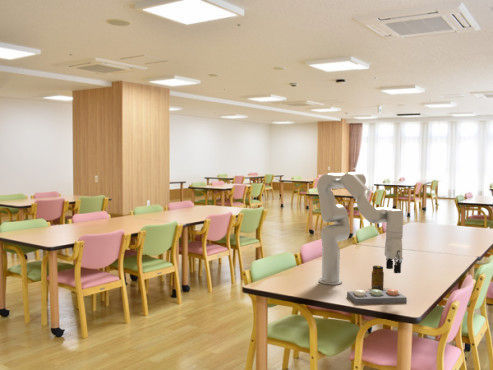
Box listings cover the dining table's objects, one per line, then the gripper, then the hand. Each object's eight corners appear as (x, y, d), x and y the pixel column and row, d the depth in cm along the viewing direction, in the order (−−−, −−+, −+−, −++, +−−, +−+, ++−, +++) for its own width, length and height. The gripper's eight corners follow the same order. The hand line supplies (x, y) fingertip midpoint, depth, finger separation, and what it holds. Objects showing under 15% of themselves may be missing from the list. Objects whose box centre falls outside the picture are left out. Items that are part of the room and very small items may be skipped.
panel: (346, 296, 226) (347, 291, 226) (395, 295, 229) (395, 290, 229) (355, 304, 214) (355, 298, 214) (406, 302, 217) (406, 297, 217)
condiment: (374, 286, 245) (375, 264, 244) (389, 289, 239) (390, 266, 238) (367, 289, 240) (368, 266, 239) (383, 292, 234) (383, 269, 233)
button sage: (369, 294, 224) (369, 289, 223) (379, 293, 224) (379, 289, 224) (373, 297, 219) (373, 292, 218) (383, 296, 219) (383, 292, 219)
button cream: (352, 294, 223) (353, 289, 222) (362, 294, 223) (363, 289, 223) (356, 297, 218) (356, 292, 217) (366, 297, 218) (366, 292, 218)
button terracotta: (385, 293, 225) (385, 289, 224) (395, 293, 225) (395, 288, 225) (389, 296, 220) (389, 292, 219) (399, 296, 220) (399, 291, 220)
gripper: (379, 232, 229) (378, 266, 230) (394, 238, 212) (393, 275, 213) (393, 231, 230) (392, 266, 231) (410, 237, 213) (409, 275, 214)
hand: (393, 270), depth 222 cm, fingers open, 7 cm apart
